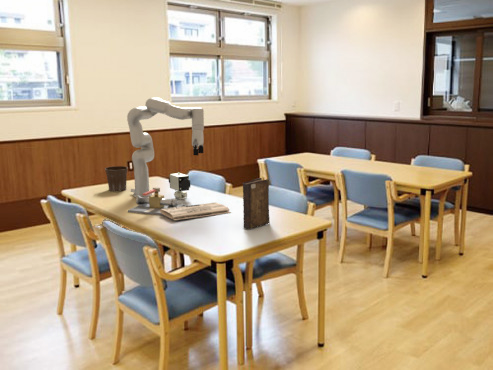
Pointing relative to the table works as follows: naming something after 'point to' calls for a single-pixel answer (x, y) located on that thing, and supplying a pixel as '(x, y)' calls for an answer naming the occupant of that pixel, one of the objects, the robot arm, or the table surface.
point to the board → (150, 209)
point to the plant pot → (116, 177)
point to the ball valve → (179, 184)
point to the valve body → (156, 201)
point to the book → (256, 203)
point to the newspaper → (194, 211)
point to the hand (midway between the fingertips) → (198, 154)
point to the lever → (152, 191)
